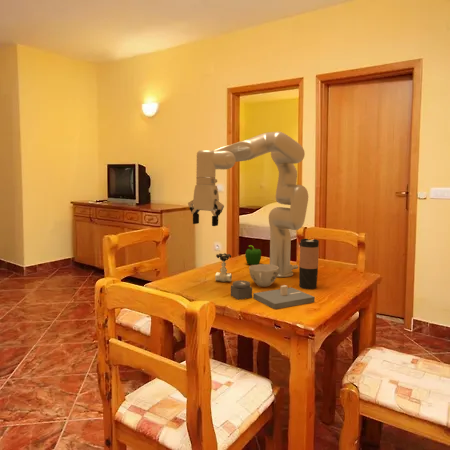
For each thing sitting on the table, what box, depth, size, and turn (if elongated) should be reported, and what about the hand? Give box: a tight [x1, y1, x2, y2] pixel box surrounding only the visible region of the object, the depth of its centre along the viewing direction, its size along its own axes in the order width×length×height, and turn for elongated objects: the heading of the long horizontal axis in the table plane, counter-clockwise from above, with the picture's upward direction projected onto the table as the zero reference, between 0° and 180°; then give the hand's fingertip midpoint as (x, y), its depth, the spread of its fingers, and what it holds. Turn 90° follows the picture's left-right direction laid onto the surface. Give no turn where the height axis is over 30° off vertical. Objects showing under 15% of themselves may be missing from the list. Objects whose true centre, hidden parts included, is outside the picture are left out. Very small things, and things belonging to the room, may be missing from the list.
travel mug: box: [298, 238, 320, 290], centre depth 172 cm, size 8×8×20 cm
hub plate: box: [252, 284, 315, 310], centre depth 154 cm, size 18×14×6 cm
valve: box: [215, 252, 232, 283], centre depth 179 cm, size 7×7×12 cm
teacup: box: [248, 263, 279, 288], centre depth 174 cm, size 15×12×8 cm
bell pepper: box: [245, 244, 262, 266], centre depth 213 cm, size 8×8×10 cm
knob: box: [230, 280, 253, 301], centre depth 158 cm, size 7×7×6 cm
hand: (205, 224), depth 165 cm, fingers open, 9 cm apart
